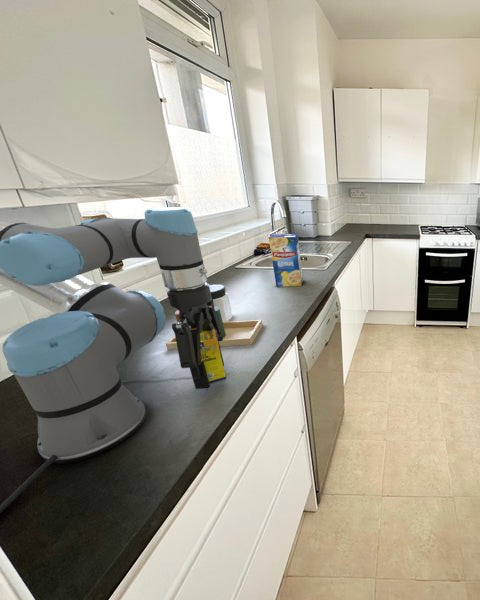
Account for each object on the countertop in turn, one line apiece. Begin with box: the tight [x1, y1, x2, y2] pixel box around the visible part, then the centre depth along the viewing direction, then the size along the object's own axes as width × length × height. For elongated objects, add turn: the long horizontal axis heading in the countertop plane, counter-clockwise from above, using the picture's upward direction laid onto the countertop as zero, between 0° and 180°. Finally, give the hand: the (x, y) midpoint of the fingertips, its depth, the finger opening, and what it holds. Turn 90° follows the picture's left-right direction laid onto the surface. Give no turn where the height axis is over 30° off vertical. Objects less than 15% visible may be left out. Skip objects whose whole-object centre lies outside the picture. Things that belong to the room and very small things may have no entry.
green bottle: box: [214, 307, 226, 338], centre depth 93 cm, size 5×5×11 cm
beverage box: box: [268, 233, 304, 288], centre depth 139 cm, size 7×11×22 cm, turn 100°
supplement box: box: [200, 329, 227, 385], centre depth 71 cm, size 6×6×11 cm
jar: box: [209, 283, 234, 322], centre depth 104 cm, size 9×8×12 cm
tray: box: [165, 319, 264, 351], centre depth 95 cm, size 13×23×3 cm, turn 98°
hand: (210, 376), depth 73 cm, fingers closed on supplement box, 8 cm apart
